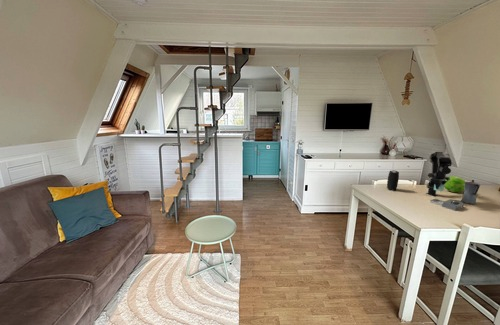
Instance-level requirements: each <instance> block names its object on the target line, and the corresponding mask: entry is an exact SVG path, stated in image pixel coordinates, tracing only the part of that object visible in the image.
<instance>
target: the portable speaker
mask: <svg viewBox="0 0 500 325" xmlns="http://www.w3.org/2000/svg"><path fill="white" fill-rule="evenodd" d="M399 175H400V172H399V171H397V170H389V173H388V177H387V181H386V188H387V190H388V191H397V189H398V185H399V177H400V176H399Z"/></svg>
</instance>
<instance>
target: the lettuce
mask: <svg viewBox="0 0 500 325" xmlns="http://www.w3.org/2000/svg"><path fill="white" fill-rule="evenodd" d="M448 177H449V178H450V180H449V181H447V180H446V181H447V182H446V183H445V184H444V189H446V190H447V191H449V192H451V193H458V192H463V191H465V182H466V181H465V180H464V179H463V178H461V177H459V176H448Z"/></svg>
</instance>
